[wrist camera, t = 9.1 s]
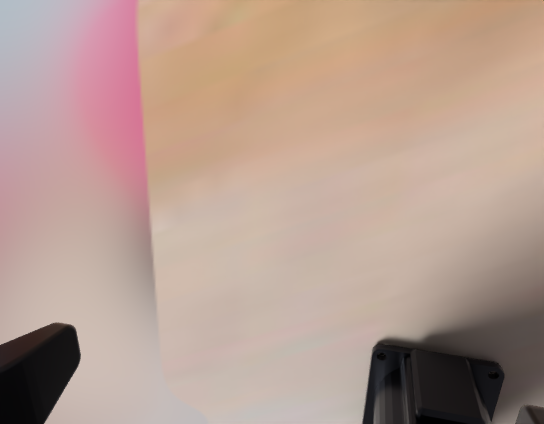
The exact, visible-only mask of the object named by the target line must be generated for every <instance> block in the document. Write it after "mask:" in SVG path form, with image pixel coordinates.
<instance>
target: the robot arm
mask: <svg viewBox="0 0 544 424" xmlns="http://www.w3.org/2000/svg"><path fill="white" fill-rule="evenodd" d="M379 353H384V354H385V355H383V356H381V355H378V354H379ZM80 357H81V354H80V348H79V342H78V337H77V332H76V329H75V327H74V326H72V325H70V324H64V323H53V324H50V325H47V326H45V327H43V328H40V329H38V330H35V331H33V332H30V333H28V334H26V335H23V336H21V337H18V338H16V339H14V340H11V341H9V342H7V343H4V344H1V345H0V424H44V423H45V421H46V420H47V418H48V416H49V415H50V413H51V411H52V410H53V408H54V406H55V404H56V403H57V401H58V399H59V397H60V396H61V394H62V393H63V391H64V389H65V387H66V386H67V384H68V382H69V381H70V379H71V377H72V376H73V374H74V372H75V371H76V369H77V367H78V365H79V362H80ZM491 371H495V372H496V373H494V374H490V373H489V372H491ZM503 380H504V372H503V369H502V367H501V365H499V364H498V363H495V362H490V361H484V360H478V359H472V358H465V357H460V356H453V355H447V354H441V353H435V352H428V351H422V350H416V349H409V348H403V347H397V346H391V345H384V344H378V345H375V346H374V347H373V349H372V355H371V362H370V369H369V377H368V384H367V391H366V399H365V406H364V413H363V421H362V424H491V421H492V418H493V414H494V411H495V407H496V404H497V401H498V397H499V394H500V390H501V387H502V383H503ZM515 424H544V407H538V406H533V405H523V406H522V407H521V409H520V411H519V414H518V417H517V420H516V423H515Z"/></svg>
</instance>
